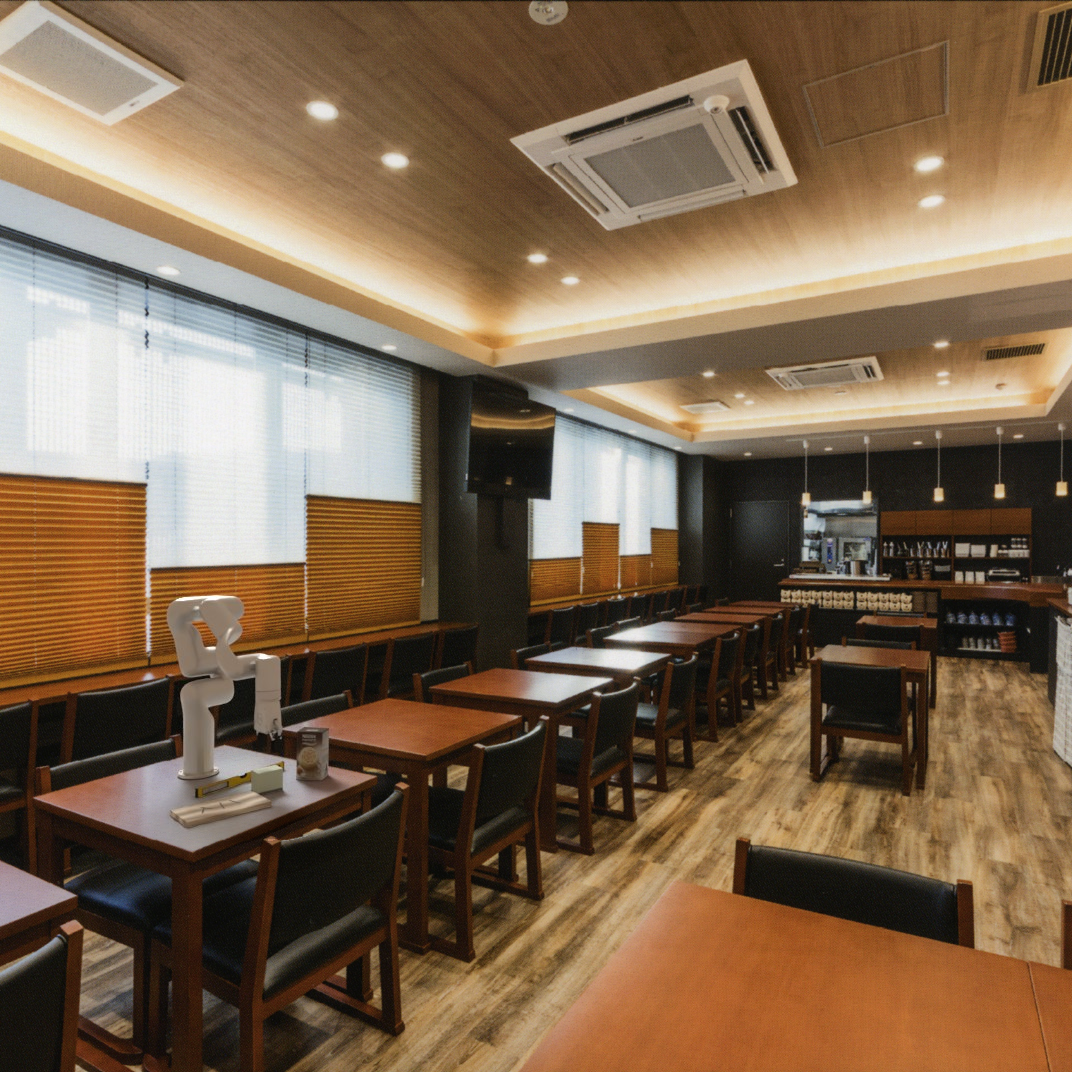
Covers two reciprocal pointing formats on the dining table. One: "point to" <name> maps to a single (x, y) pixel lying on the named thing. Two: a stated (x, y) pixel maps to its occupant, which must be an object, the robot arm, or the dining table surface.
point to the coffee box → (312, 753)
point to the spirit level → (227, 783)
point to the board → (220, 808)
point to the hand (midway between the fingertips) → (268, 749)
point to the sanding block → (267, 780)
